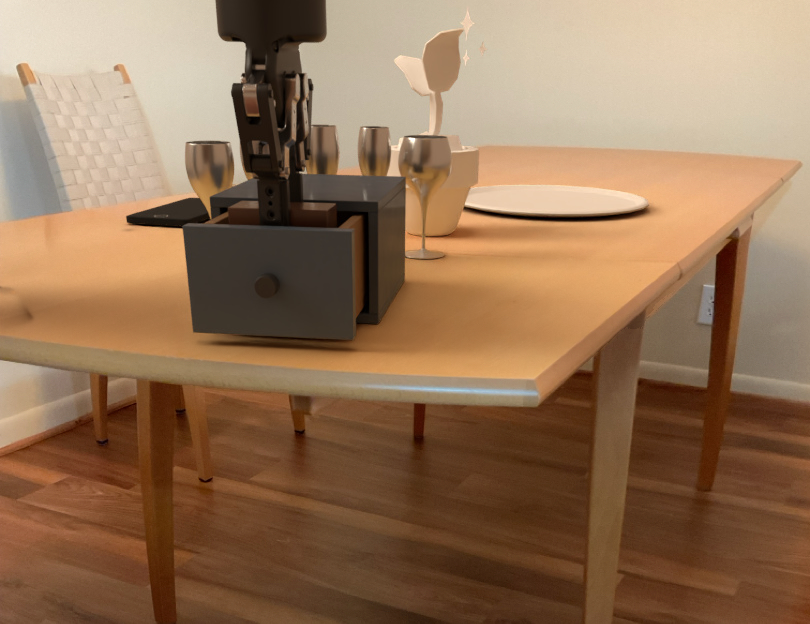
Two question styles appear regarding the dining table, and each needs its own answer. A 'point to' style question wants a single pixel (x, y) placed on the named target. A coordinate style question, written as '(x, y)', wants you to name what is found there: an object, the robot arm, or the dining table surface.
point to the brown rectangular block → (299, 211)
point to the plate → (553, 201)
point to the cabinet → (354, 195)
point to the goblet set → (336, 165)
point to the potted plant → (431, 80)
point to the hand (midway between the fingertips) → (282, 227)
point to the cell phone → (172, 214)
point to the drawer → (278, 277)
